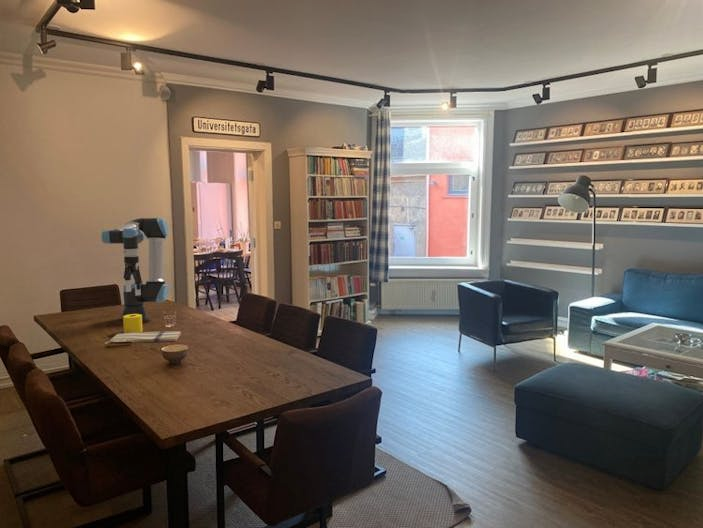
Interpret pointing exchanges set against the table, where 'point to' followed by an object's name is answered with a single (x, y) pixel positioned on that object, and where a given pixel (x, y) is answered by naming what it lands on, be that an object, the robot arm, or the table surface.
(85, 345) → the table surface
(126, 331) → the tape roll
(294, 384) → the table surface
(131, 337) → the board
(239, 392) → the table surface
